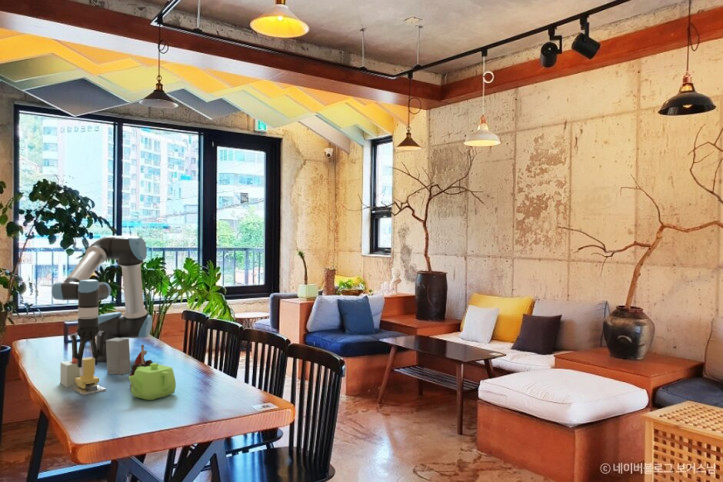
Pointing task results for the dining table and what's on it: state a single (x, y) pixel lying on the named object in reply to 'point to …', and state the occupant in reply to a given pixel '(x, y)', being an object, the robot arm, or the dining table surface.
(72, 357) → the button
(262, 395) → the dining table surface
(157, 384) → the teapot
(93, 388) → the rail base
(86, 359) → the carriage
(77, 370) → the cabinet
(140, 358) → the red brown figurine
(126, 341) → the skincare box
